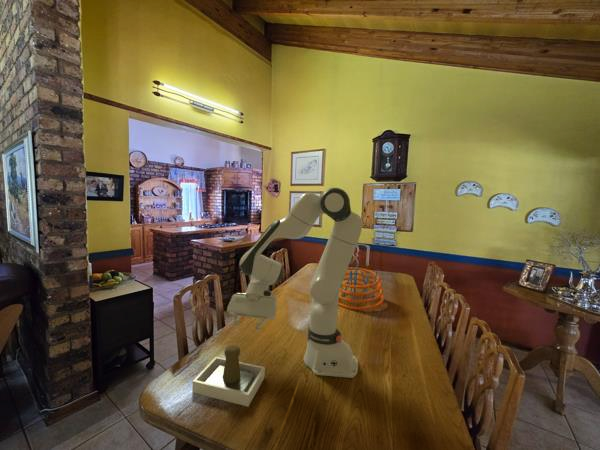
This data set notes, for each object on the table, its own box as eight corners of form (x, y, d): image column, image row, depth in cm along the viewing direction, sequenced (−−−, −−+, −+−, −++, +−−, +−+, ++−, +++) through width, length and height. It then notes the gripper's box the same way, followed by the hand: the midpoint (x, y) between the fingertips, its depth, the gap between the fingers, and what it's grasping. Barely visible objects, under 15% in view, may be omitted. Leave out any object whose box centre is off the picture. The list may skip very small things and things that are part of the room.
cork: (233, 368, 95) (234, 340, 94) (243, 376, 91) (245, 347, 90) (219, 377, 90) (219, 347, 89) (229, 385, 86) (230, 354, 85)
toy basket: (391, 314, 161) (394, 278, 156) (335, 315, 160) (336, 279, 155) (374, 290, 195) (375, 259, 190) (327, 291, 194) (328, 260, 189)
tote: (264, 380, 95) (264, 367, 95) (248, 409, 82) (248, 394, 81) (215, 368, 100) (215, 356, 99) (192, 395, 86) (192, 381, 86)
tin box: (254, 379, 94) (254, 372, 93) (242, 399, 84) (242, 392, 84) (219, 371, 97) (219, 365, 97) (203, 390, 87) (204, 383, 87)
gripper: (231, 288, 110) (219, 321, 101) (277, 293, 106) (269, 327, 97) (236, 295, 115) (225, 326, 106) (280, 300, 110) (272, 333, 102)
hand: (246, 327), depth 102 cm, fingers open, 8 cm apart
